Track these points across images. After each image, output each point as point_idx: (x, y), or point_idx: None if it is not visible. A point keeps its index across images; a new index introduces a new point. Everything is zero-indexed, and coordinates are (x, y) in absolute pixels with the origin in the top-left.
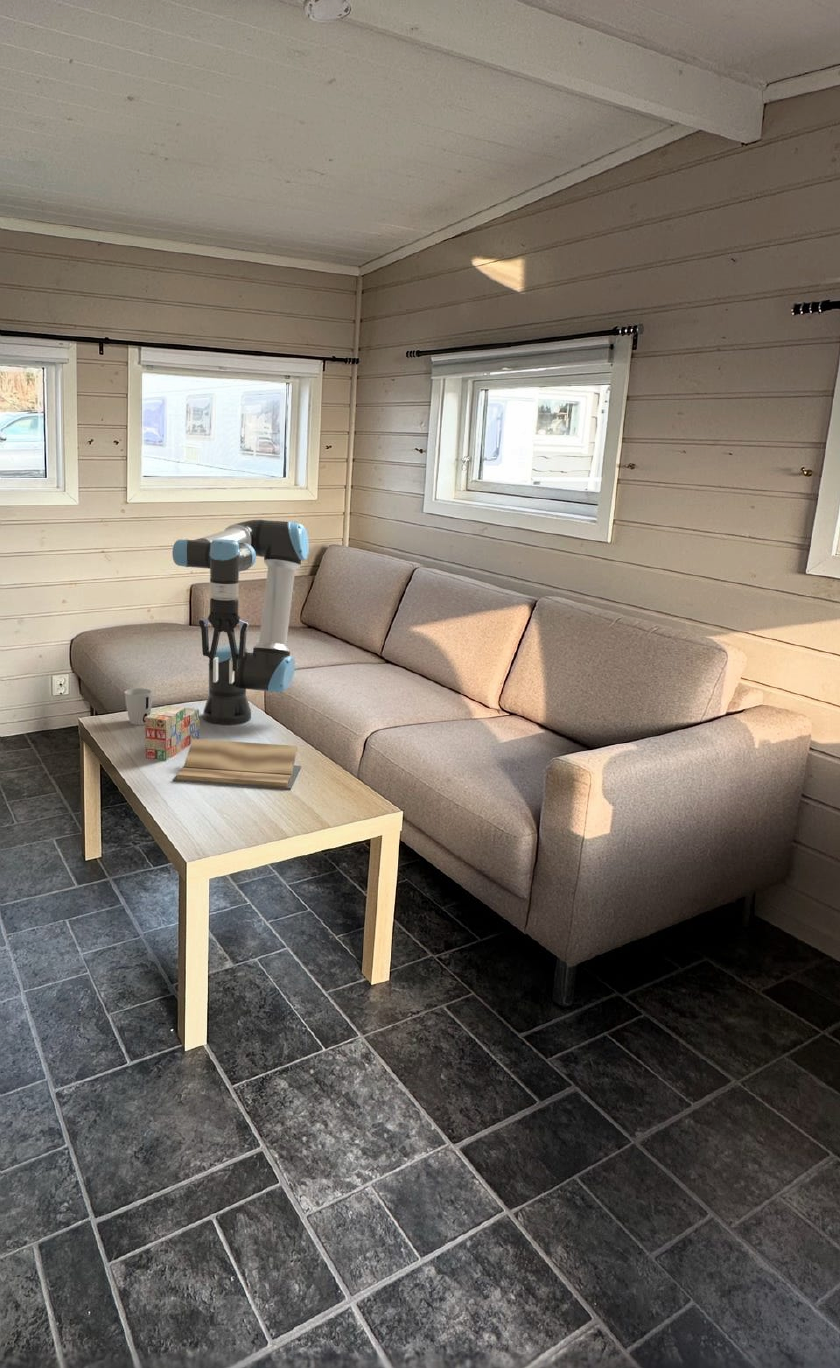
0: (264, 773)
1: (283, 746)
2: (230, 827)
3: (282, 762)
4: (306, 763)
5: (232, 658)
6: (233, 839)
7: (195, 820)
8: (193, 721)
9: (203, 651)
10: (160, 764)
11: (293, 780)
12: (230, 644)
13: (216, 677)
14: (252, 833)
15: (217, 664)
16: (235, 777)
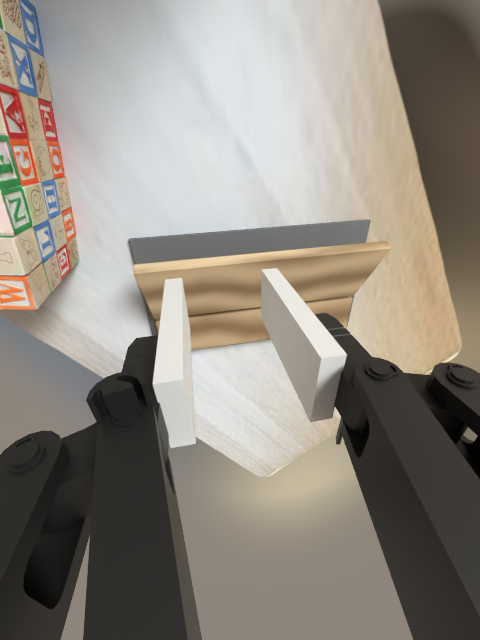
0: (308, 304)
1: (360, 254)
2: (282, 429)
3: (345, 283)
4: (381, 189)
5: (343, 431)
6: (290, 445)
7: (241, 429)
8: (7, 47)
9: (45, 546)
10: (83, 284)
11: (352, 297)
12: (417, 613)
13: (188, 329)
14: (306, 431)
15: (186, 359)
16: (263, 334)
